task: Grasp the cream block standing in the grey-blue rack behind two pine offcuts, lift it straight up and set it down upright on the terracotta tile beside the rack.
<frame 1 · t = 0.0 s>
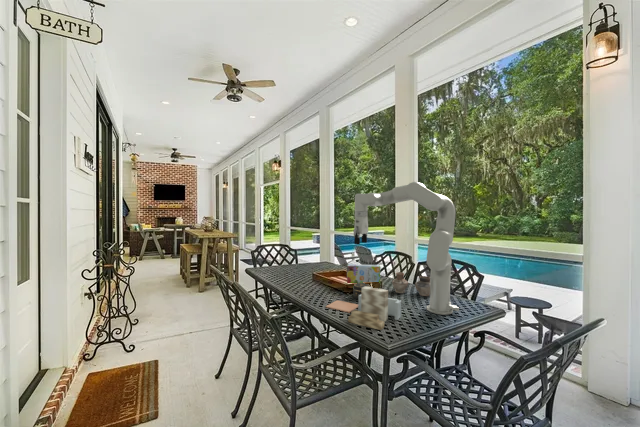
hand: (360, 243, 179), 31 cm above the table, tool pointing down, fingers open, 9 cm apart
snack box: (363, 288, 196), on the table
jar: (361, 298, 175), on the table
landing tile: (342, 306, 161), on the table
cream block: (374, 317, 146), on the table
offcut top: (365, 318, 138), point 2 cm above the table, touching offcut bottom
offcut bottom: (365, 325, 138), on the table, touching offcut top
rack: (379, 305, 151), on the table
pottery: (412, 293, 185), on the table
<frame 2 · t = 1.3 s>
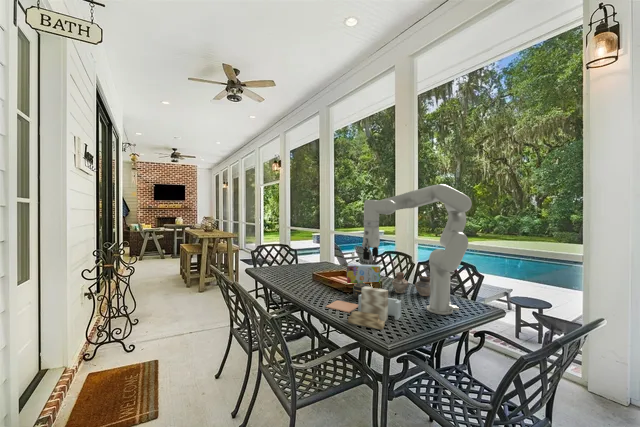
hand: (370, 258, 153), 27 cm above the table, tool pointing down, fingers open, 9 cm apart
offcut top: (365, 319, 138), point 2 cm above the table
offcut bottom: (366, 325, 138), on the table
everything else where it was.
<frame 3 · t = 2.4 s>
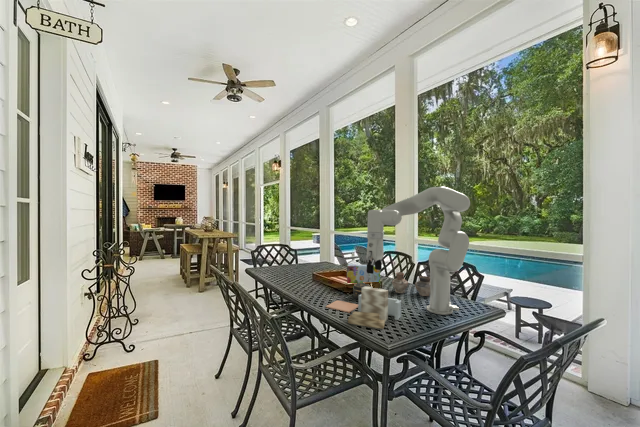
hand: (374, 271, 145), 23 cm above the table, tool pointing down, fingers open, 9 cm apart
offcut top: (365, 319, 138), point 2 cm above the table, touching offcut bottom
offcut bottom: (366, 325, 138), on the table, touching offcut top
everything else where it was.
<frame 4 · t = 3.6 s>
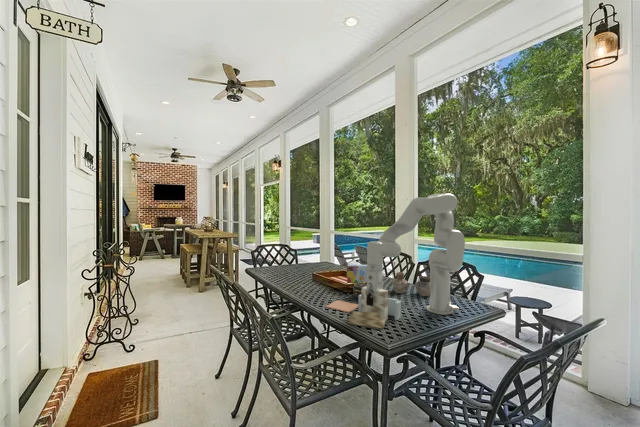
hand: (373, 302, 145), 7 cm above the table, tool pointing down, fingers open, 9 cm apart
offcut top: (365, 318, 138), point 2 cm above the table
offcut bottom: (366, 325, 138), on the table
everything else where it was.
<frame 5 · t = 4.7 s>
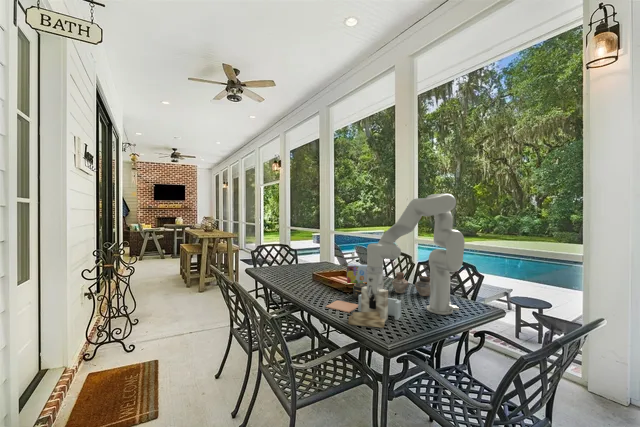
hand: (374, 306, 145), 5 cm above the table, tool pointing down, fingers closed on cream block, 4 cm apart
cream block: (374, 317, 146), on the table, touching gripper
offcut top: (366, 318, 138), point 2 cm above the table, touching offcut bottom
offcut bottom: (366, 325, 138), on the table, touching offcut top
everything else where it was.
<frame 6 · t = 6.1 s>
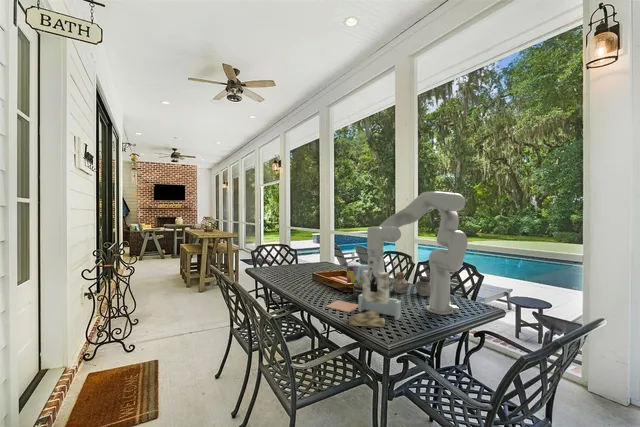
hand: (375, 290, 145), 13 cm above the table, tool pointing down, fingers closed on cream block, 4 cm apart
cream block: (375, 301, 145), point 8 cm above the table, touching gripper
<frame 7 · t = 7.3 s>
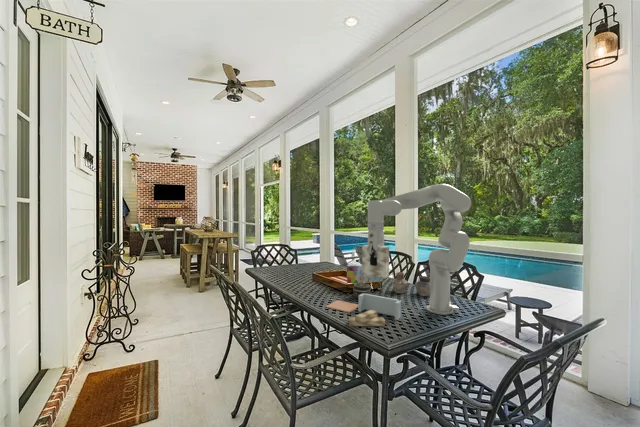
hand: (375, 264, 145), 26 cm above the table, tool pointing down, fingers closed on cream block, 4 cm apart
cream block: (375, 275, 145), point 21 cm above the table, touching gripper
offcut top: (366, 318, 138), point 2 cm above the table
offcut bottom: (366, 325, 138), on the table
everything else where it was.
when the fingers open (7 cm above the table, at t = 11.5 s): cream block drops 1 cm, resting on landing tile.
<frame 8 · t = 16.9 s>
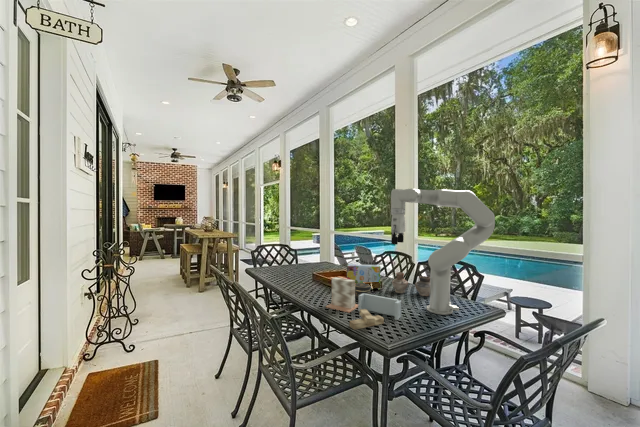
hand: (397, 243, 165), 33 cm above the table, tool pointing down, fingers open, 9 cm apart
cream block: (343, 305, 161), point 1 cm above the table, touching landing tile
at the end: cream block inside the target area on the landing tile (0.1 cm from its centre), point 0.6 cm above the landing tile's base; cream block tilted 0°; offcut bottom moved 0.8 cm from its start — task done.
